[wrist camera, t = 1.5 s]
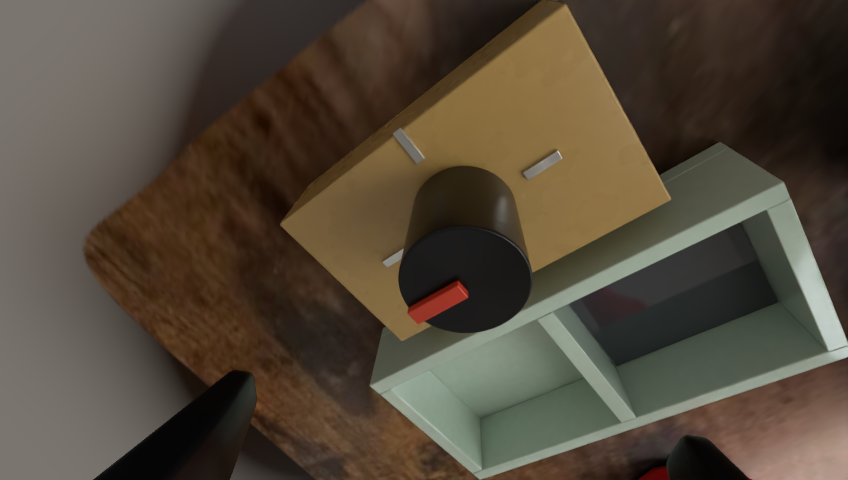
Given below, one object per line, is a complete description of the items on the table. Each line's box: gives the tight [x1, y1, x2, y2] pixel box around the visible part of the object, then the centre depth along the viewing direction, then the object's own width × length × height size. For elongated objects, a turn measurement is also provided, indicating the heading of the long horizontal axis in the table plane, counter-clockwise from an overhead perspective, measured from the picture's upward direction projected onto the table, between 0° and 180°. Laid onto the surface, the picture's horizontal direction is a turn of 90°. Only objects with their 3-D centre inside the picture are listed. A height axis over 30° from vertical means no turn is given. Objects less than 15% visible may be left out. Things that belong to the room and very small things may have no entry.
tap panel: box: [280, 0, 671, 341], centre depth 18 cm, size 13×8×4 cm, turn 128°
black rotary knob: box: [398, 166, 533, 333], centre depth 14 cm, size 4×4×5 cm
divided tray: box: [370, 142, 848, 480], centre depth 22 cm, size 10×19×4 cm, turn 128°
